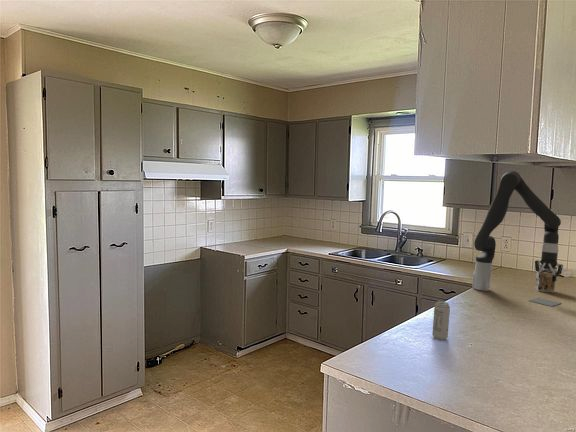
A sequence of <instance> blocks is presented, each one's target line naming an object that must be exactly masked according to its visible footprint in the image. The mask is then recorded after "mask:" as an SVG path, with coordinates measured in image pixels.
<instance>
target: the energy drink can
mask: <svg viewBox="0 0 576 432" xmlns="http://www.w3.org/2000/svg"><path fill="white" fill-rule="evenodd" d="M450 310H451V308H450V305H449V302H447V301H441V300H440V301H436V303H435V304H434V309H433V320H432V321H433V322H432V332H431V333H432V336H433V338H434V339H435V340H437V341H446V340H447V339H448V337H449V336H448V335H449V324H450V314H451V313H450V312H451V311H450Z"/></svg>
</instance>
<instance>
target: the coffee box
mask: <svg viewBox="0 0 576 432" xmlns="http://www.w3.org/2000/svg"><path fill="white" fill-rule="evenodd" d="M541 267H542V264H539V268H541ZM555 268H556V272H557V271H558V267H557V266H556V267H555ZM543 272H546V273H552V272H551V270H550V269H545V270H544V271H543ZM543 272H542V273H543ZM552 274H553V273H552ZM543 277H544V276H543ZM548 279H549V277H546V285H545V287H544V286H543V278H542V287H541V288H540V287H539V272H538V271H536V276H535V283H534V285H535V286H534V290H535V291H537V292H540V291H541V292H542V293H550V292H551V293H553V294H555V287H556V284H555V285H554V289H553V288H550V289H548ZM551 287H552V277H551ZM551 293H550V294H551Z"/></svg>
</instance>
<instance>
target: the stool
mask: <svg viewBox="0 0 576 432" xmlns="http://www.w3.org/2000/svg"><path fill="white" fill-rule="evenodd" d="M539 275H540V279H539V287H540V288H541V287H542V277H543V276H544V277H543V286H544V287H545V285H546V277H549V279H548V289H550V288H553V289H554V290H555V288H554V285H555V286H556V281H555V282H552V287H551V277H553V274H552V273H546V272H543V273H539Z"/></svg>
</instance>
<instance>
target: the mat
mask: <svg viewBox="0 0 576 432" xmlns="http://www.w3.org/2000/svg"><path fill="white" fill-rule="evenodd" d="M528 302H530V303H535V304H539V305H543V306H547V307H551V308H552V307H556V306H559V305H562V302H558V301H555V300H551V299H547V298H546V299H545V298H542V297H536V298H532V299H528Z"/></svg>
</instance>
